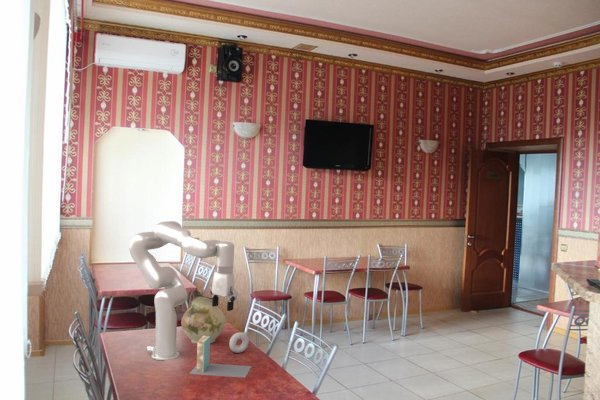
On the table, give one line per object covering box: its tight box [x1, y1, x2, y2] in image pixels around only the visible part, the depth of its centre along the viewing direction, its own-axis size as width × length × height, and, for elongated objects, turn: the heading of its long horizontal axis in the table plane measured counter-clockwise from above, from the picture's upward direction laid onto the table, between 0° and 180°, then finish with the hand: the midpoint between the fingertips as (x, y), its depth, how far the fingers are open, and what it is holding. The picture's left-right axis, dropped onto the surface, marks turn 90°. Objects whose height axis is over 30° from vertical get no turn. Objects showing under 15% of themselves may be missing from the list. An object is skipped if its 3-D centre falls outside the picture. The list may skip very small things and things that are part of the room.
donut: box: [228, 331, 250, 354], centre depth 248 cm, size 10×4×10 cm, turn 121°
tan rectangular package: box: [196, 336, 211, 372], centre depth 223 cm, size 3×9×13 cm, turn 174°
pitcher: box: [180, 289, 226, 345], centre depth 266 cm, size 22×24×25 cm
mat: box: [189, 362, 253, 379], centre depth 222 cm, size 24×14×1 cm, turn 84°
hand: (222, 308), depth 229 cm, fingers open, 9 cm apart
